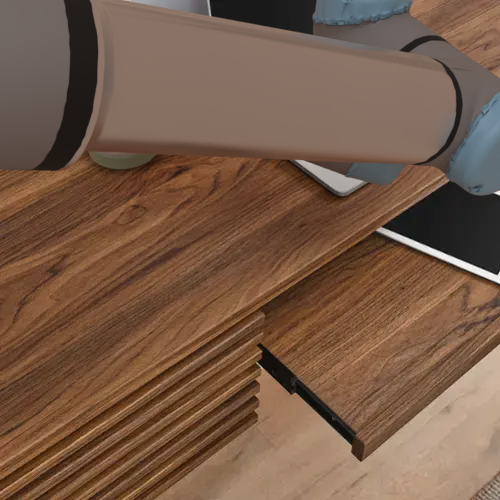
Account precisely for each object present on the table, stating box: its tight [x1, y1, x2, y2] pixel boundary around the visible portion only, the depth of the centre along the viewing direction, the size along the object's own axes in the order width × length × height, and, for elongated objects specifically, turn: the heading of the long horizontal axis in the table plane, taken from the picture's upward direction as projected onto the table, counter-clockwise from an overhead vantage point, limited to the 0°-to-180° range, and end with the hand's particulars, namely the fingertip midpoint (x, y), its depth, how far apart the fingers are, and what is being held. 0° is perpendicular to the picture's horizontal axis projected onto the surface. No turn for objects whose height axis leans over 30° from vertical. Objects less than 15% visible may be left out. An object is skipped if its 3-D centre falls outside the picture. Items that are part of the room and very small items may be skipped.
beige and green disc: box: [87, 151, 157, 170], centre depth 97 cm, size 9×9×2 cm
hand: (68, 41), depth 82 cm, fingers closed on beverage can, 8 cm apart
